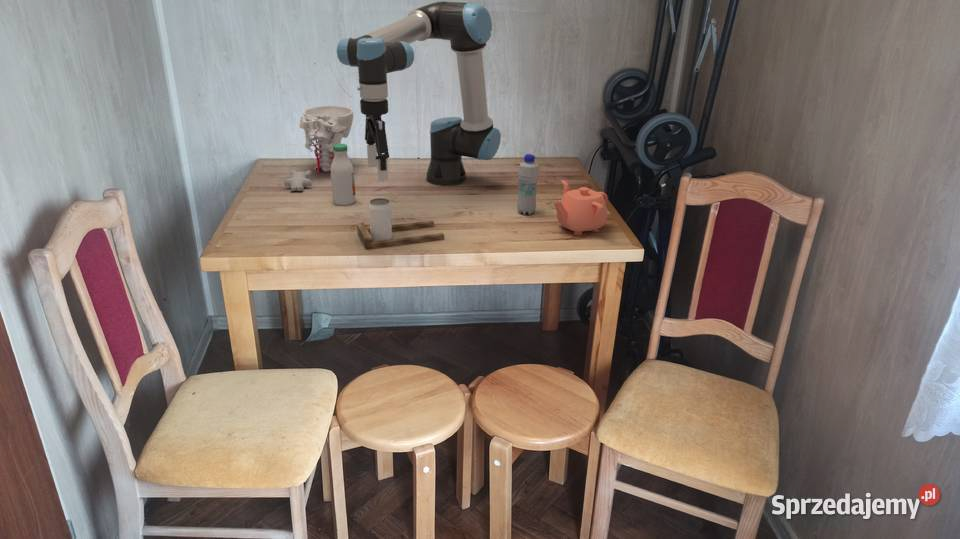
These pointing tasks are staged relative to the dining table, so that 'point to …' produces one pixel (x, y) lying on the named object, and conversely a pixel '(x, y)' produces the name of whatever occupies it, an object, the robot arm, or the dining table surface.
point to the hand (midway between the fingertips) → (377, 173)
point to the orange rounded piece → (581, 209)
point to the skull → (326, 131)
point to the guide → (368, 244)
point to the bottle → (527, 185)
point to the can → (380, 219)
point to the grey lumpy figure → (298, 180)
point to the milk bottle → (342, 177)
